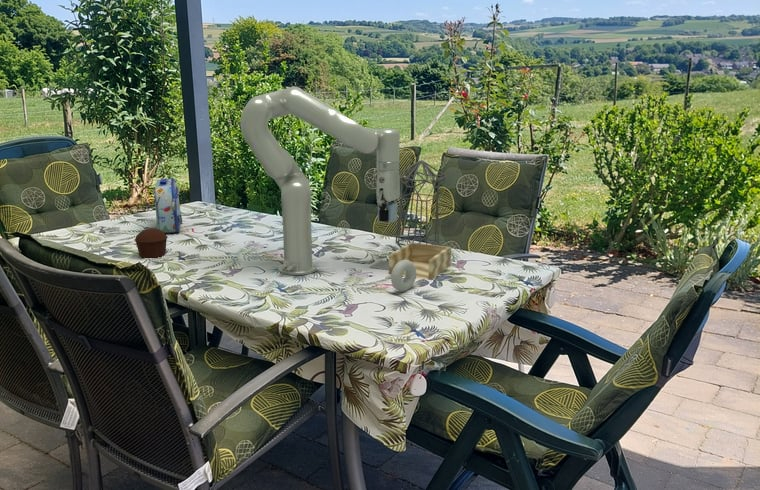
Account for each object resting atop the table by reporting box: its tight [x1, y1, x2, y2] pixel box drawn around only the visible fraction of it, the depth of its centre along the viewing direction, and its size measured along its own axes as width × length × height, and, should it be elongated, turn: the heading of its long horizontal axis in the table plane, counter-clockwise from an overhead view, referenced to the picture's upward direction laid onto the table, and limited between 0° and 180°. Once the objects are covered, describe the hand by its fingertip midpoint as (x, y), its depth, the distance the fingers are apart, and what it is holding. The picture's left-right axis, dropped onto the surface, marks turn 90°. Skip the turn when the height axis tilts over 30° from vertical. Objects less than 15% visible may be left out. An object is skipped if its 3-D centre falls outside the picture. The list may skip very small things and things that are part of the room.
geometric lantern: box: [394, 160, 448, 249], centre depth 243 cm, size 16×16×35 cm
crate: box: [388, 241, 452, 281], centre depth 227 cm, size 19×15×7 cm
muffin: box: [134, 227, 169, 259], centre depth 244 cm, size 12×11×10 cm
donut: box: [390, 260, 417, 293], centre depth 206 cm, size 10×4×10 cm, turn 135°
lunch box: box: [154, 178, 183, 234], centre depth 282 cm, size 28×10×22 cm, turn 17°
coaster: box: [369, 260, 389, 271], centre depth 231 cm, size 9×9×1 cm
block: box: [377, 202, 398, 224], centre depth 226 cm, size 5×5×6 cm
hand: (387, 219), depth 227 cm, fingers closed on block, 5 cm apart
